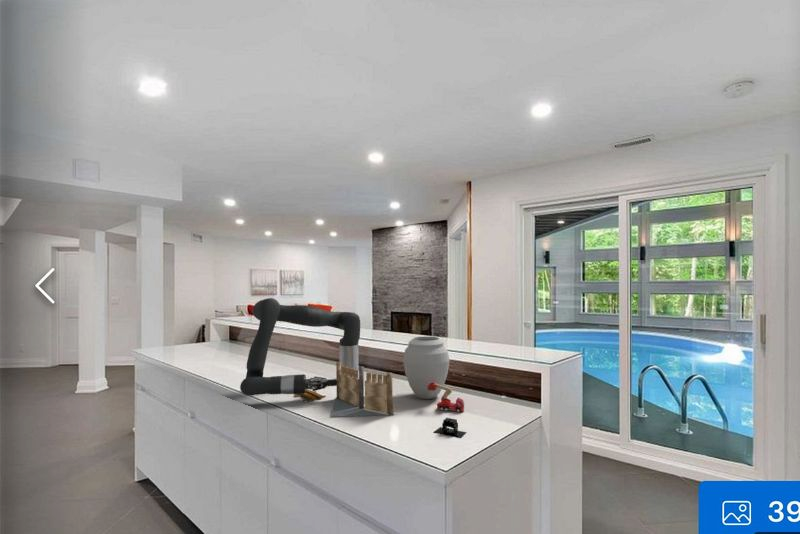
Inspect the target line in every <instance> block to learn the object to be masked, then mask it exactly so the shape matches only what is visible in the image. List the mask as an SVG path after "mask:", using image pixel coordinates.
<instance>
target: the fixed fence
mask: <svg viewBox="0 0 800 534" xmlns="http://www.w3.org/2000/svg"><path fill="white" fill-rule="evenodd" d="M364 368H365V367H364V366H363V365H362V366H358V378H359V408H360V409H363V408H364V396H365V409H370V410H375V411H380V412H385V413H387V414H389V415H387V416H390V417H391V416H393V415H392V414H393V410H394V405H393V397H394V396H393V372H387V373H386V374H382V373H376V372H373V373H372V372H366V375H365V371H364ZM365 376H366V380H365Z"/></svg>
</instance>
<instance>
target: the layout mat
mask: <svg viewBox="0 0 800 534" xmlns="http://www.w3.org/2000/svg"><path fill="white" fill-rule="evenodd" d="M394 411H395V410H394V409H393V414H392V415H391V416H395V412H394ZM388 415H389V414H387V413H385V412H380V411H375V410H370V409H365V395H364V408H363V409H360V408H359V406H355V405H353V404H351V403H349V402H346V401H344V400H342V399H339V398H337V396H336V397H335V399H334V402H333V407H332V409H331V414H330V417H331V418H348V417H347V416H358V417H381V416H385V417H386V416H388ZM345 416H346V417H345Z"/></svg>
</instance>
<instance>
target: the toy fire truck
mask: <svg viewBox="0 0 800 534" xmlns="http://www.w3.org/2000/svg"><path fill="white" fill-rule="evenodd" d="M436 388H440V389H441V390H444V391H445V392H444V393H443V395H442V396H441V398H440V401H438V402H437V403H436V409H437V410H440V411H446V412H448V411H453V412H457V413H460V412H461V413H463V412H465V401H464V399H462V398H460V397H457V398H456V400H455V402H452V401H451V399H450V398H448V397H449V396H450V395H451V393H452V392H453V390H452V388H450V387H447V386H445V385H444V386H442V385H439V384H437V382H434V383H430V384H429V385H428V390H432V391H435V390H436Z"/></svg>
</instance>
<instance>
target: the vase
mask: <svg viewBox="0 0 800 534" xmlns="http://www.w3.org/2000/svg"><path fill="white" fill-rule="evenodd" d="M402 360H403V366H404V367H403V368H404V374H405V377H406V380H407V382H408V385H409V387H410V388H411V391H412V392H413V394H414V395H415V396H416V397H418V398H419V399H421V400H432V399H435V398H437V396H439V394H440V393H441V391H442V389H440V388H436V390H435V391H432V390H428V385H429V384H430V383H434V382H437V384H439V385H442V386H445V383H446V380H447V376H448V373H449V367H450V356H449V351H448V349H447V348H446V347H445V345H444V341H443V340H442V339H440V338H439V337H436V336H415V337H412V338H411V340H409V341H408V345H407V347H406V348H405V349H404V354H403V358H402Z"/></svg>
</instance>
